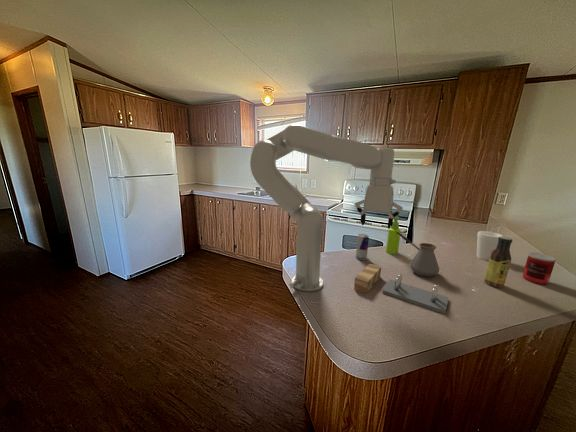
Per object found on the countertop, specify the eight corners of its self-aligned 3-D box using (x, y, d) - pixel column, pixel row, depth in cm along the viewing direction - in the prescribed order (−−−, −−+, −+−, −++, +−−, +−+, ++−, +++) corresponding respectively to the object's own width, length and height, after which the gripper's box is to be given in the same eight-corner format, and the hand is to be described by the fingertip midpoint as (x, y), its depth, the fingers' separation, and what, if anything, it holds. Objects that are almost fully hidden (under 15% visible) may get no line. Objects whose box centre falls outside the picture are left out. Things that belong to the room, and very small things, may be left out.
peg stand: (445, 314, 76) (448, 298, 75) (382, 292, 88) (384, 278, 87) (447, 299, 84) (450, 285, 83) (389, 282, 96) (391, 268, 94)
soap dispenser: (382, 250, 128) (386, 215, 124) (394, 250, 129) (398, 215, 124) (387, 254, 123) (391, 218, 118) (399, 254, 123) (404, 218, 118)
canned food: (540, 277, 101) (547, 253, 98) (553, 286, 93) (561, 261, 91) (517, 274, 103) (524, 251, 100) (529, 283, 96) (536, 258, 93)
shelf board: (366, 293, 88) (367, 282, 87) (353, 289, 91) (354, 277, 90) (380, 277, 100) (381, 266, 99) (368, 273, 103) (369, 263, 102)
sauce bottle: (499, 289, 91) (511, 242, 86) (480, 282, 96) (491, 236, 91) (507, 285, 94) (519, 239, 89) (488, 278, 99) (499, 234, 94)
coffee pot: (443, 274, 102) (449, 242, 99) (429, 281, 97) (435, 247, 93) (399, 257, 120) (403, 229, 116) (384, 262, 114) (388, 233, 110)
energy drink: (367, 260, 116) (369, 237, 113) (356, 259, 117) (358, 236, 114) (366, 256, 121) (368, 234, 118) (355, 255, 122) (357, 233, 119)
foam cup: (498, 263, 114) (504, 238, 111) (474, 259, 118) (480, 235, 115) (493, 256, 122) (499, 232, 119) (471, 252, 126) (476, 230, 123)
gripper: (406, 182, 86) (400, 226, 91) (359, 180, 95) (356, 220, 99) (405, 184, 80) (399, 232, 84) (354, 181, 88) (351, 225, 92)
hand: (375, 225), depth 91 cm, fingers open, 9 cm apart
